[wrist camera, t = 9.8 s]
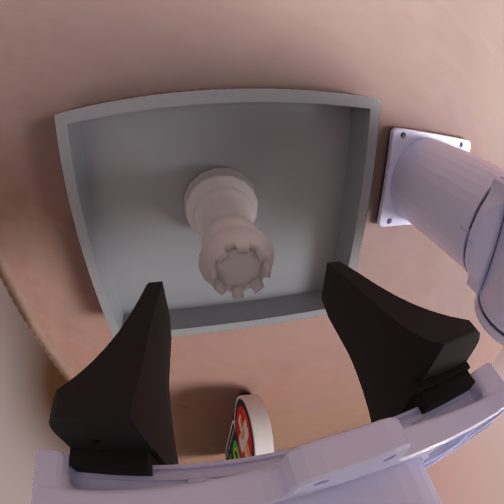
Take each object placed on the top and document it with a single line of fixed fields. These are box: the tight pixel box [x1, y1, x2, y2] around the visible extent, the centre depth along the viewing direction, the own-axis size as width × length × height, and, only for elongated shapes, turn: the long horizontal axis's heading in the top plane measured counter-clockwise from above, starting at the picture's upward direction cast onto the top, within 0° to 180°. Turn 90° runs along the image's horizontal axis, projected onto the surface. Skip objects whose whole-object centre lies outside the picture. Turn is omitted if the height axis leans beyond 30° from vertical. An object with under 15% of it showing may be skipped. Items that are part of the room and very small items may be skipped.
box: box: [54, 88, 381, 338], centre depth 19 cm, size 18×16×3 cm
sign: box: [225, 394, 274, 460], centre depth 32 cm, size 22×2×10 cm, turn 171°
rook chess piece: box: [184, 168, 275, 299], centre depth 16 cm, size 4×4×8 cm
